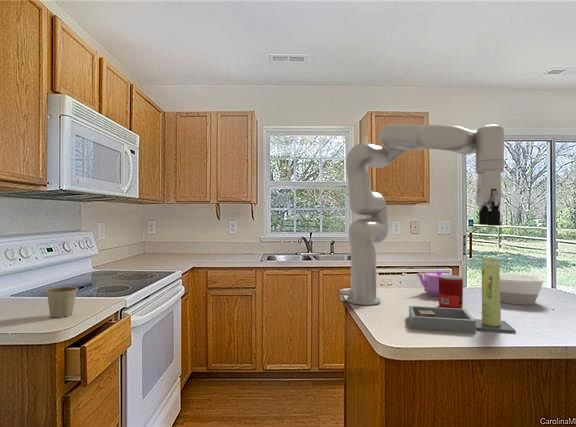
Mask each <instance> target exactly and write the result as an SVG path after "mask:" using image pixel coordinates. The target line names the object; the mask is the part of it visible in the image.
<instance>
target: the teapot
mask: <svg viewBox="0 0 576 427" xmlns="http://www.w3.org/2000/svg"><path fill="white" fill-rule="evenodd" d="M414 274H415V275H417V276H418V278H419V280H420V284H421V285H422V286H423V287H424V288H423V289H424V292H425V293H426V294H427V295H428V296H431V297H433V298H434V297H435V298H437V297H438V296H439V276H440V275H452V274H451V273H446V272H443V270H435V272H424V274H423V275H424V276H423V275H422V274H421V273H417V272H415V273H414Z"/></svg>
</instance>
